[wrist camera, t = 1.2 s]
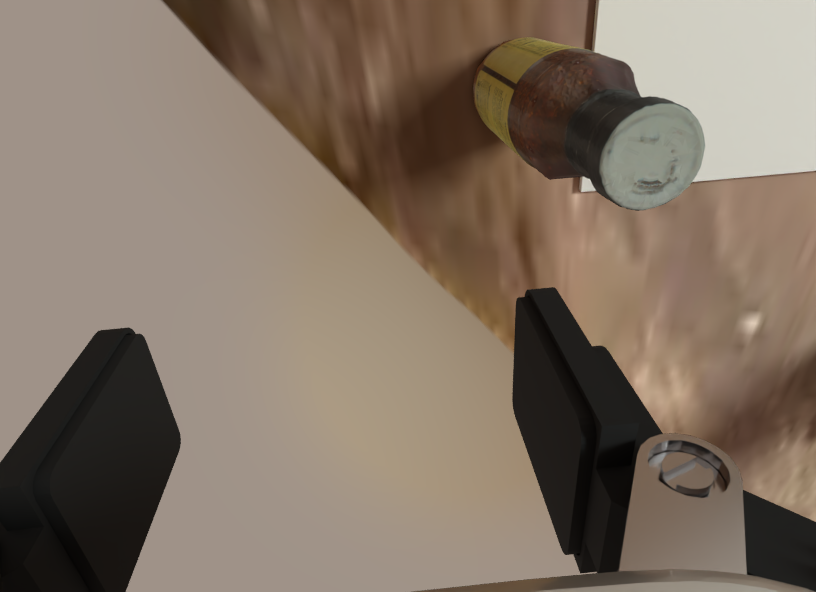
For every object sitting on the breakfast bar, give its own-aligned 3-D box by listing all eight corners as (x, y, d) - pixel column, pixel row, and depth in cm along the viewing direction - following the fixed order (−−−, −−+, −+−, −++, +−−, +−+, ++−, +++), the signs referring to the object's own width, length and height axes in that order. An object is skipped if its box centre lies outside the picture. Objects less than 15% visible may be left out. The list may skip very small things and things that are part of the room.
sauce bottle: (525, 147, 40) (650, 277, 23) (451, 104, 38) (526, 210, 21) (582, 61, 37) (770, 135, 20) (505, 10, 35) (642, 43, 18)
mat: (838, 166, 42) (842, 168, 42) (578, 189, 42) (581, 191, 41) (921, -88, 34) (928, -89, 34) (602, -64, 34) (605, -64, 33)
